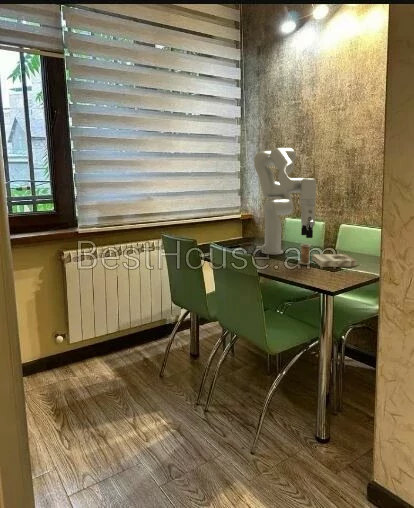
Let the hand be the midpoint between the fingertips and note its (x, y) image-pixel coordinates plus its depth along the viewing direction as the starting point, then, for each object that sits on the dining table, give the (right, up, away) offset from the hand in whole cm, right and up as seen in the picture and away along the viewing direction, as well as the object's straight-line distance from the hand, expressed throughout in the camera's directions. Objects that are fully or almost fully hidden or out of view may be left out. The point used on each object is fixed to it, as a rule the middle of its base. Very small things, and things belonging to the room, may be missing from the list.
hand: (306, 236), depth 210 cm
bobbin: (0, -14, +4) cm, 14 cm away
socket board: (+15, -14, +4) cm, 21 cm away
